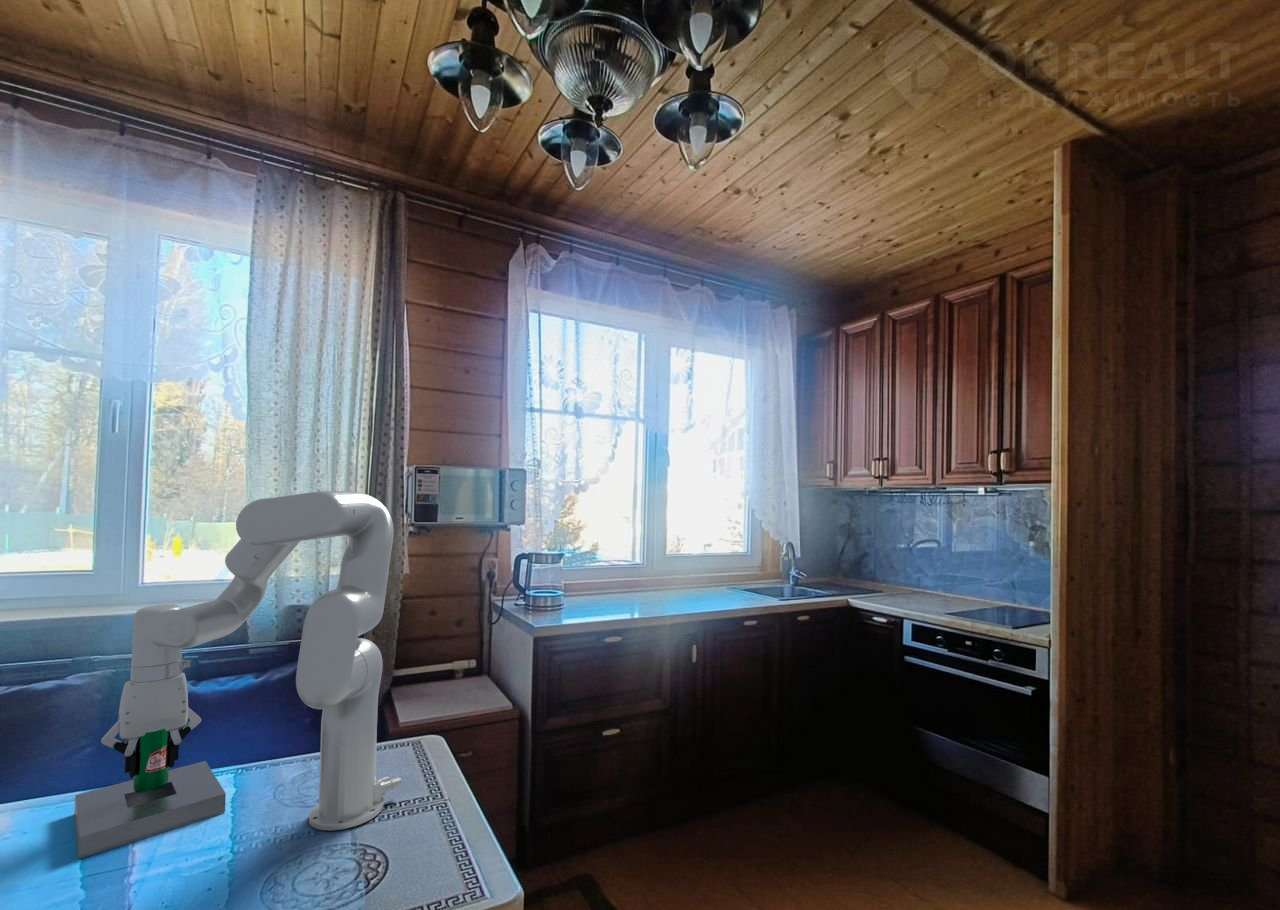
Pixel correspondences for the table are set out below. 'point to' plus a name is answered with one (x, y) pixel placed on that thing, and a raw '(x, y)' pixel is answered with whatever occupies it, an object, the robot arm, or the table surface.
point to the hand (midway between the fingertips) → (151, 769)
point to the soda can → (152, 761)
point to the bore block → (145, 809)
